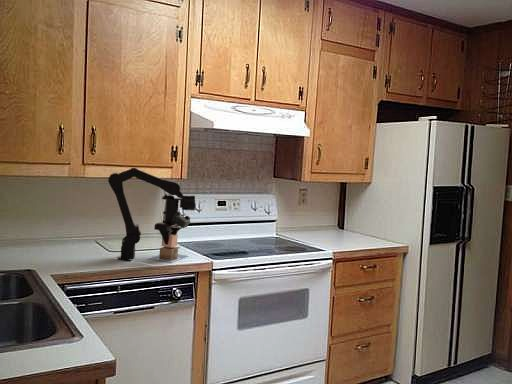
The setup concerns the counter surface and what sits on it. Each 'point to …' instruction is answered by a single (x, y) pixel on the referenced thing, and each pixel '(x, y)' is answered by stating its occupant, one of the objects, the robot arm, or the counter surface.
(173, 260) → the board
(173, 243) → the terracotta cube
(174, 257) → the walnut block
